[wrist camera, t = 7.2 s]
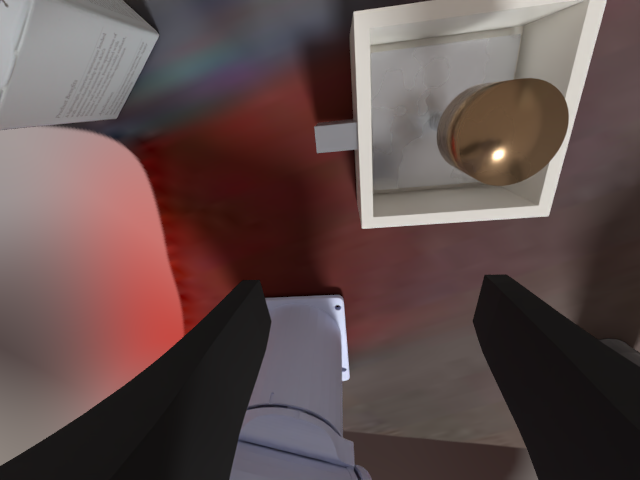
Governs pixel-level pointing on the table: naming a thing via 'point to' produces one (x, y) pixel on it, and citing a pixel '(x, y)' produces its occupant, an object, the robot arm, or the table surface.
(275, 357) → the robot arm
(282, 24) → the table surface
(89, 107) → the skincare box
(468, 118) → the plunger
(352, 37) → the white framed panel box
